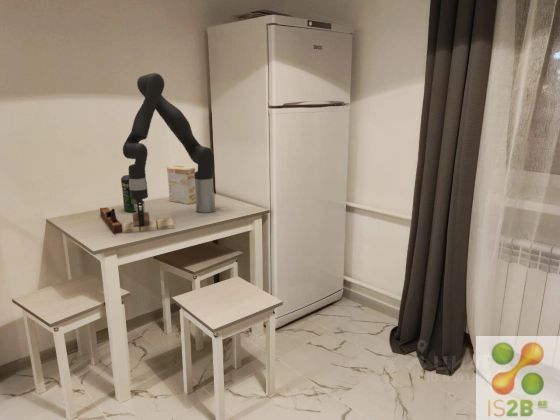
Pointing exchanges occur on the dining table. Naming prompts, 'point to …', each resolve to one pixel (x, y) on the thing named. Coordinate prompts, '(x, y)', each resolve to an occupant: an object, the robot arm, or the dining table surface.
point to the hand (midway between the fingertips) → (141, 224)
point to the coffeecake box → (181, 184)
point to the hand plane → (111, 220)
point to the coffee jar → (127, 195)
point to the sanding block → (136, 219)
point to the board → (149, 226)
